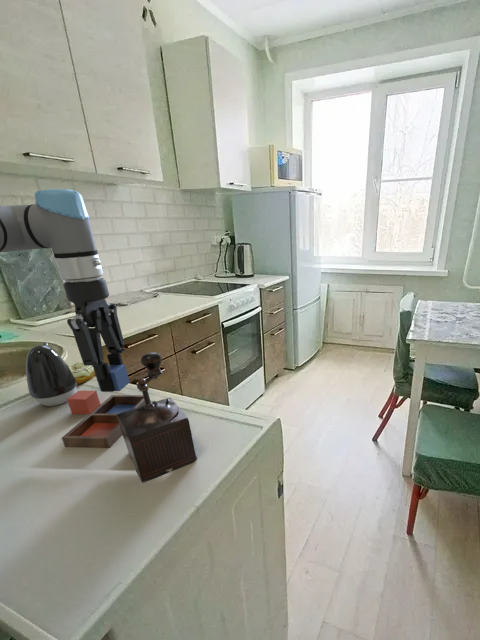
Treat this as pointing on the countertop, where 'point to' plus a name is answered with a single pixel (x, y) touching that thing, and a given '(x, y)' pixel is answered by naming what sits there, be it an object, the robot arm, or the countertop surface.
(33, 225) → the robot arm
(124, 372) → the slate-blue block
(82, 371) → the decorated donut
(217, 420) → the countertop surface
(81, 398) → the terracotta block
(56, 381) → the black tapered dome
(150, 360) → the manual coffee grinder
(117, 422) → the tray
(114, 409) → the blue tile
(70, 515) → the countertop surface
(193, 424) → the countertop surface
